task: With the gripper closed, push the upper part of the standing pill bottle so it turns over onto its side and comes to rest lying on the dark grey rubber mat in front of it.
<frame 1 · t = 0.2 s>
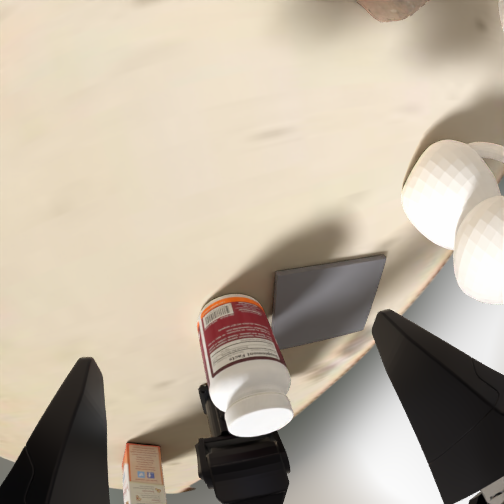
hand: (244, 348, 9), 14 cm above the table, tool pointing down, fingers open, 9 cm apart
pill bottle: (229, 315, 28), on the table
cracker box: (137, 455, 43), on the table
cat figurine: (431, 173, 25), on the table
mat: (325, 303, 30), on the table
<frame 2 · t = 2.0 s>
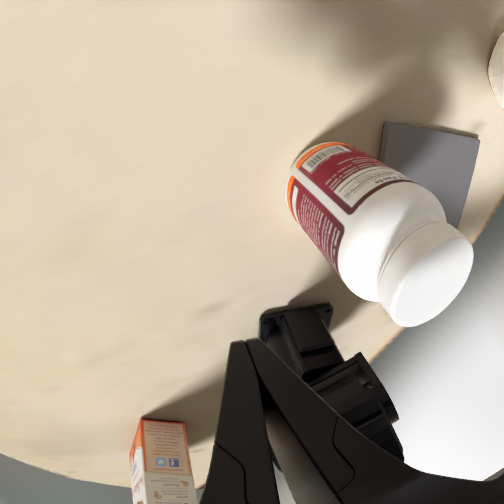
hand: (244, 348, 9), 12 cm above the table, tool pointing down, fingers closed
pill bottle: (324, 182, 20), on the table
cracker box: (152, 439, 35), on the table
mat: (425, 188, 22), on the table
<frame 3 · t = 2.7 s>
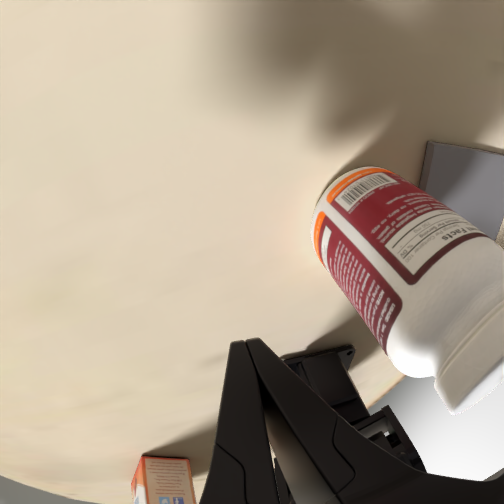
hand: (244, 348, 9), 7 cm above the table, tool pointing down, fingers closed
pill bottle: (357, 214, 16), on the table
cracker box: (154, 471, 31), on the table
mat: (463, 215, 18), on the table
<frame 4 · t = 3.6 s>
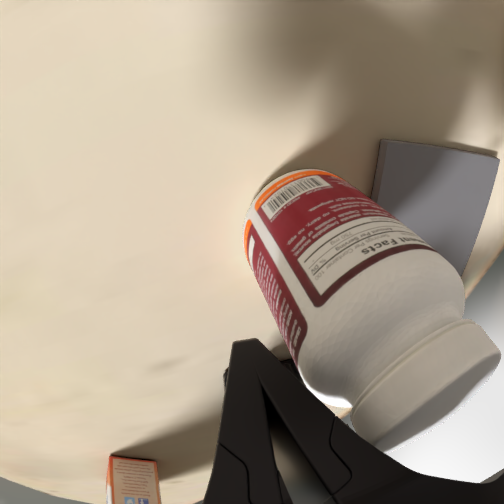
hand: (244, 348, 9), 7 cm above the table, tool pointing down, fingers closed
pill bottle: (298, 221, 16), on the table, touching gripper
cracker box: (126, 471, 30), on the table
mat: (431, 221, 18), on the table
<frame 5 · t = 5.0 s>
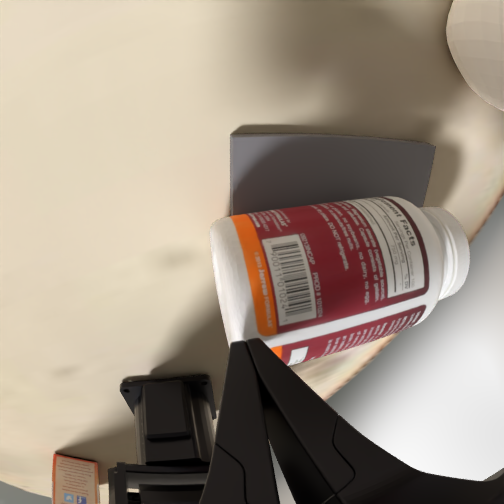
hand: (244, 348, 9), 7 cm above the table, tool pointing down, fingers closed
pill bottle: (215, 299, 12), point 4 cm above the table, touching mat
cracker box: (77, 470, 28), on the table
cat figurine: (478, 29, 11), on the table
mat: (334, 228, 16), on the table
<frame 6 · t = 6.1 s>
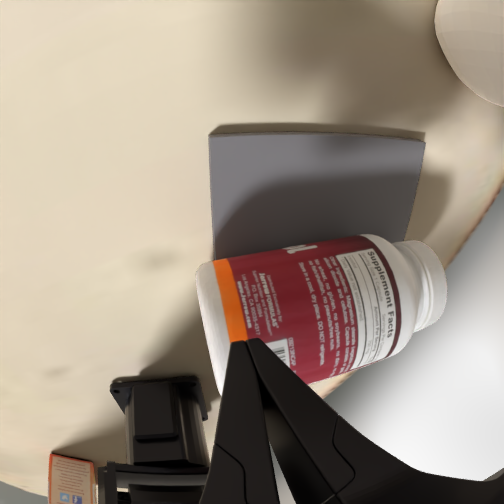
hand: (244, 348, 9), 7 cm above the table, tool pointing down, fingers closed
pill bottle: (201, 336, 13), point 4 cm above the table, touching mat
cracker box: (74, 469, 28), on the table
cat figurine: (470, 22, 11), on the table
mat: (320, 228, 16), on the table
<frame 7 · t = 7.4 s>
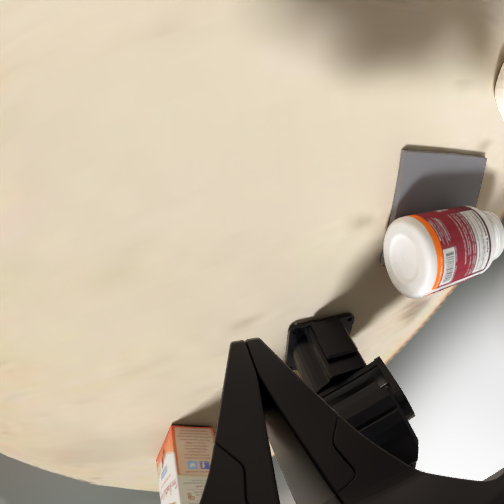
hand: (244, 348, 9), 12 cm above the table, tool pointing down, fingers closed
pill bottle: (400, 259, 21), point 4 cm above the table, touching mat
cracker box: (180, 443, 37), on the table
mat: (437, 206, 24), on the table
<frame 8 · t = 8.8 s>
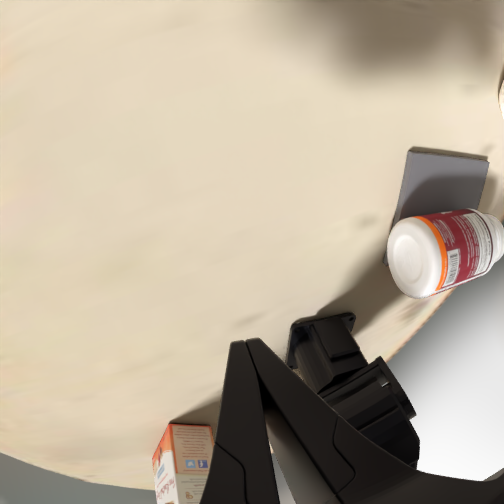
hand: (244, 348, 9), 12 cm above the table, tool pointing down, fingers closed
pill bottle: (405, 260, 21), point 4 cm above the table, touching mat
cracker box: (176, 442, 36), on the table
mat: (440, 207, 24), on the table
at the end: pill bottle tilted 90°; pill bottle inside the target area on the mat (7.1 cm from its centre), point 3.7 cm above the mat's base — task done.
